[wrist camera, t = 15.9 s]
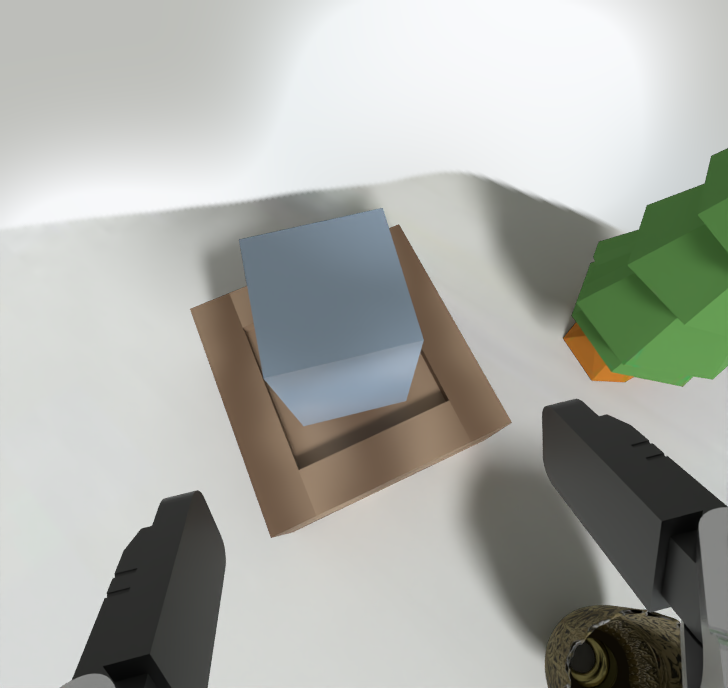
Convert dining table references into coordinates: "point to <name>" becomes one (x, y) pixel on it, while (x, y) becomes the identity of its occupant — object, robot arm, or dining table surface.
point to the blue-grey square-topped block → (332, 316)
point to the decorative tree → (660, 292)
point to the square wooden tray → (353, 432)
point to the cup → (616, 649)
